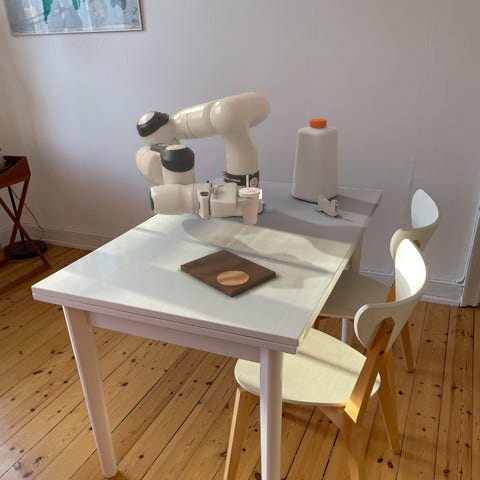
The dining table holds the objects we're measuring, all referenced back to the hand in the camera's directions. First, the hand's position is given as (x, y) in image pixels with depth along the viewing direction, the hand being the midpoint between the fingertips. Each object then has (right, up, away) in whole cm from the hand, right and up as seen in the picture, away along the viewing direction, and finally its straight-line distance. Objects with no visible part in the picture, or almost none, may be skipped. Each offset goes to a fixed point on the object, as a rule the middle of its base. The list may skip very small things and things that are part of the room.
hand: (252, 197), depth 143 cm
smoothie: (-1, -7, +4) cm, 8 cm away
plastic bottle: (+25, +13, +50) cm, 58 cm away
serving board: (-7, -22, -6) cm, 24 cm away
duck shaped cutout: (+28, +2, +33) cm, 43 cm away
